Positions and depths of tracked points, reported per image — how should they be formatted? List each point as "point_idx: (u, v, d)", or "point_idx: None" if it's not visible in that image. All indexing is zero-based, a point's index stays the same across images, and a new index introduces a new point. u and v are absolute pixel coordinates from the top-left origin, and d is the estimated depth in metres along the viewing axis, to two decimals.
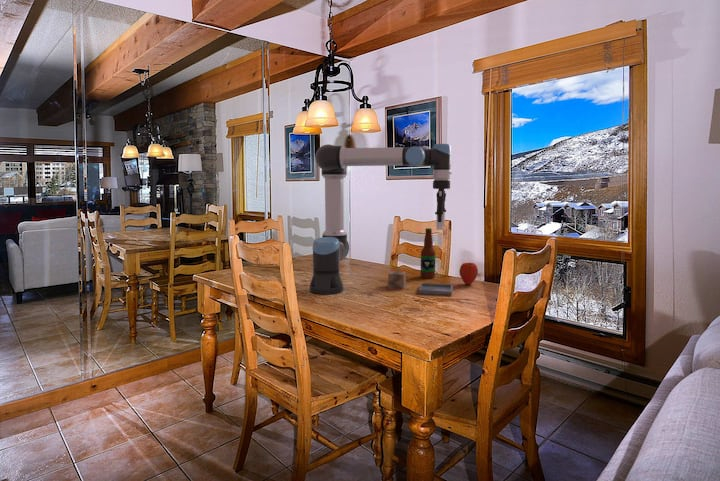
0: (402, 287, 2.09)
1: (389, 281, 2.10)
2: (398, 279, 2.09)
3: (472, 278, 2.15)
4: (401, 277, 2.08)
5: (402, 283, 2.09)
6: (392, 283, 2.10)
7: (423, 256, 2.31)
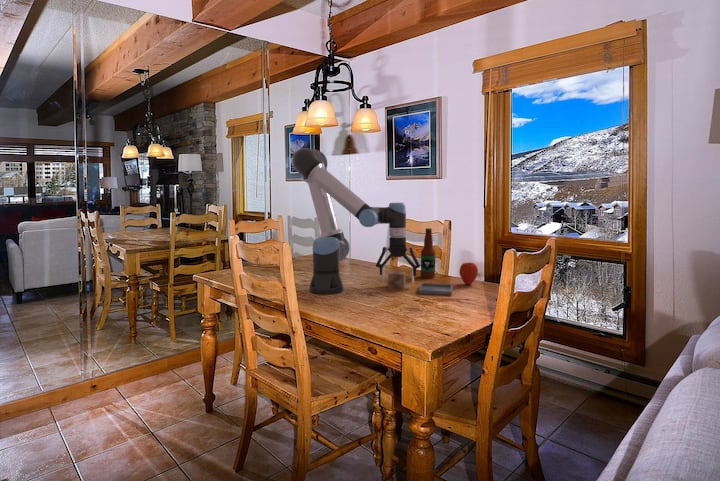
0: (402, 287, 2.09)
1: (389, 281, 2.10)
2: (398, 279, 2.09)
3: (472, 278, 2.15)
4: (401, 277, 2.08)
5: (402, 283, 2.09)
6: (392, 283, 2.10)
7: (423, 256, 2.31)
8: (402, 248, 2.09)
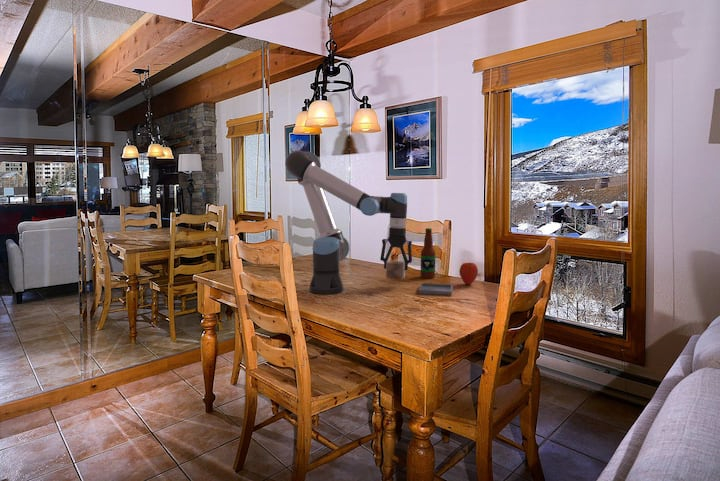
0: (400, 277, 2.08)
1: (388, 270, 2.09)
2: (397, 268, 2.08)
3: (472, 278, 2.15)
4: (400, 267, 2.08)
5: (400, 273, 2.08)
6: (391, 273, 2.09)
7: (423, 256, 2.31)
8: (402, 238, 2.08)
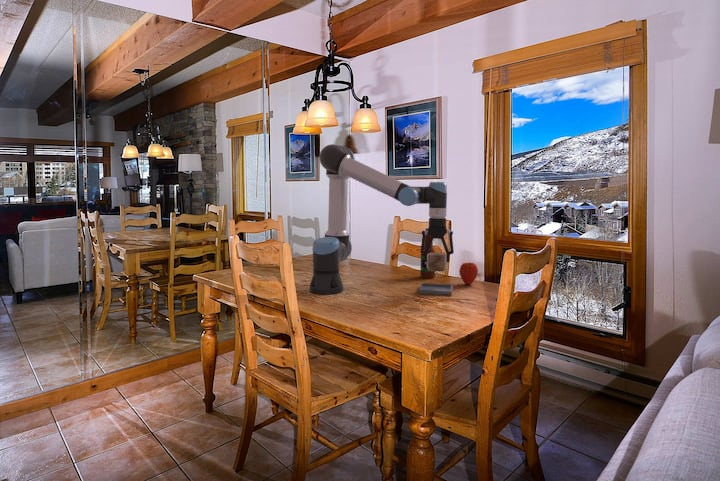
0: (443, 269, 2.01)
1: (429, 262, 2.02)
2: (438, 260, 2.01)
3: (472, 278, 2.15)
4: (442, 259, 2.00)
5: (443, 264, 2.00)
6: (432, 265, 2.01)
7: (423, 256, 2.31)
8: (443, 229, 2.01)
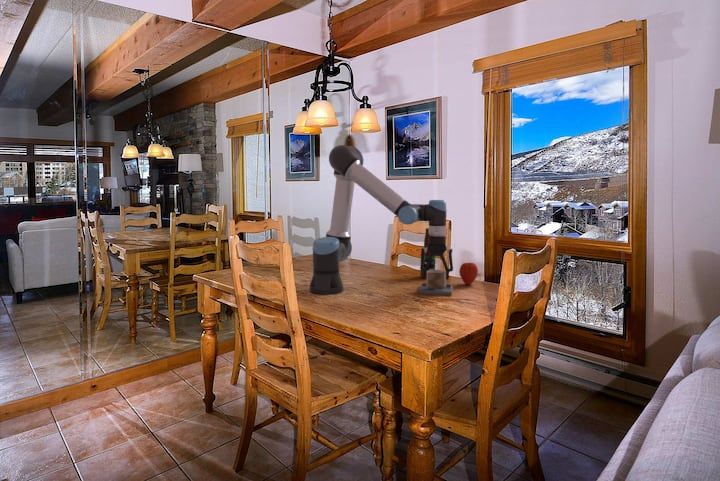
0: (442, 286, 2.02)
1: (429, 280, 2.03)
2: (438, 277, 2.02)
3: (472, 278, 2.15)
4: (442, 276, 2.01)
5: (442, 282, 2.01)
6: (432, 283, 2.03)
7: None
8: (442, 246, 2.02)
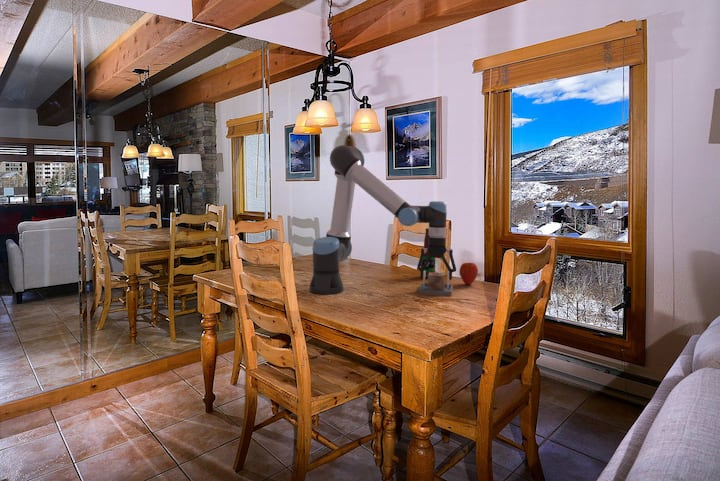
0: (442, 289, 2.02)
1: (429, 283, 2.03)
2: (438, 280, 2.02)
3: (472, 278, 2.15)
4: (442, 279, 2.01)
5: (442, 285, 2.02)
6: (432, 285, 2.03)
7: None
8: (442, 248, 2.02)
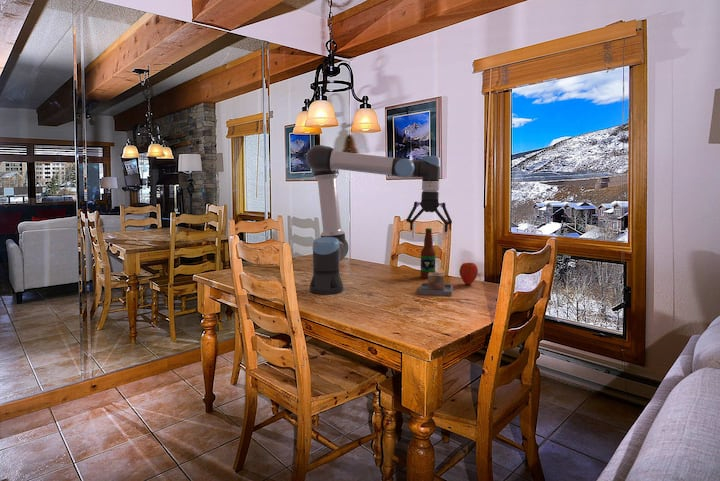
0: (442, 289, 2.02)
1: (429, 283, 2.03)
2: (438, 280, 2.02)
3: (472, 278, 2.15)
4: (442, 279, 2.01)
5: (442, 285, 2.02)
6: (432, 285, 2.03)
7: (423, 256, 2.31)
8: (434, 203, 2.04)
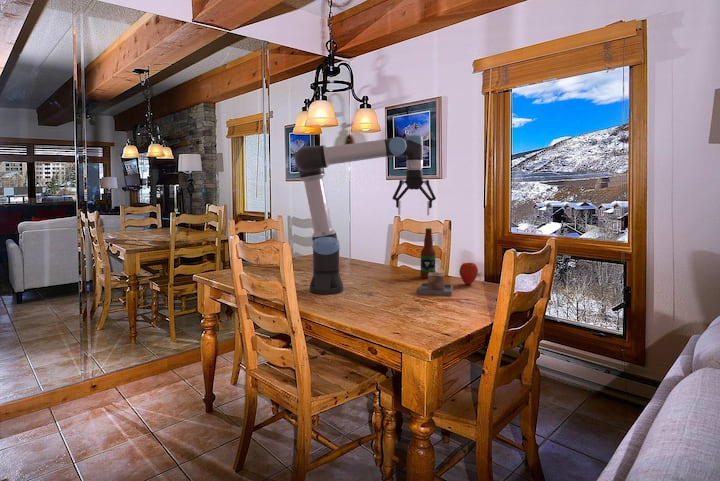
0: (442, 289, 2.02)
1: (429, 283, 2.03)
2: (438, 280, 2.02)
3: (472, 278, 2.15)
4: (442, 279, 2.01)
5: (442, 285, 2.02)
6: (432, 285, 2.03)
7: (423, 256, 2.31)
8: (419, 180, 2.14)
